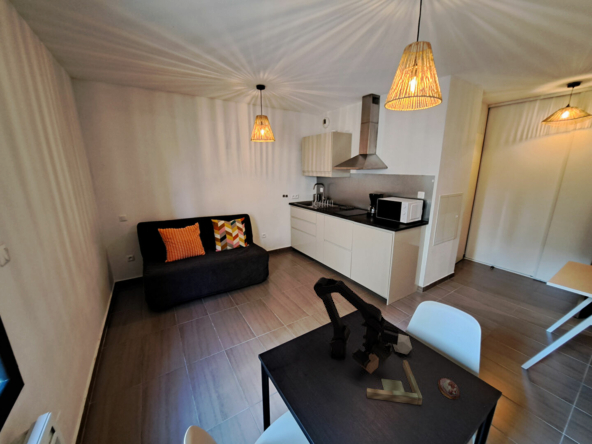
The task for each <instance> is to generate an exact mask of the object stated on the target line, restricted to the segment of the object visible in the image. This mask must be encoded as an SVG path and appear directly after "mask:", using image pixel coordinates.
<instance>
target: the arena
mask: <svg viewBox="0 0 592 444" xmlns="http://www.w3.org/2000/svg"><path fill="white" fill-rule="evenodd" d="M402 367H403V370H404V374H405V375H406V378H407V381H408V383H409V386H410V389H411V391H412V392H408V391H407V392H406V391H405V389H404V386H403V383H402V381H401V380H395V379H394V380H393V379H386V378H381V379H380V380H381V384H382V385H381V386H382V388H383V389H376V388H369V387H366V398H367V399H374V400H381V401H387V402H388V401H389V402H395V403H396V402H397V403H404V404H410V405H419V406H422V403H423V396H422V393H421V391H420V389H419V386H418V383H417V381H416V378H415V376H414V374H413V372H412V369H411V366H410V364H409V362H408V360H406V359H405V360H404V359H403V363H402Z"/></svg>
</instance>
